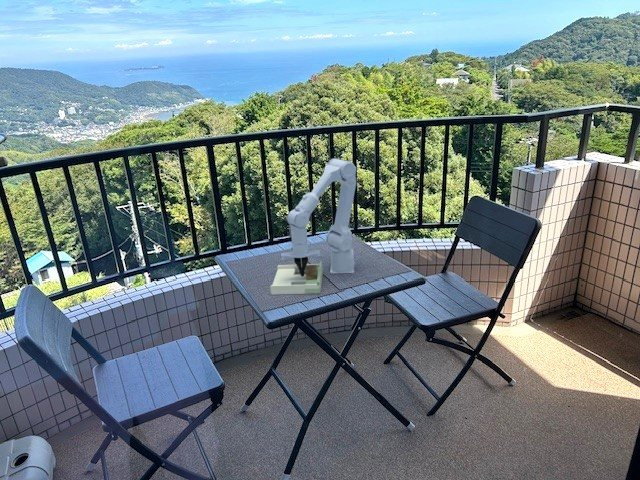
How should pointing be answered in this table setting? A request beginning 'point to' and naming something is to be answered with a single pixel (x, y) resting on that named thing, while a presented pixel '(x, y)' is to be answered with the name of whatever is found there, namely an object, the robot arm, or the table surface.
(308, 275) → the walnut block
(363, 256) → the table surface
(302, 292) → the board
